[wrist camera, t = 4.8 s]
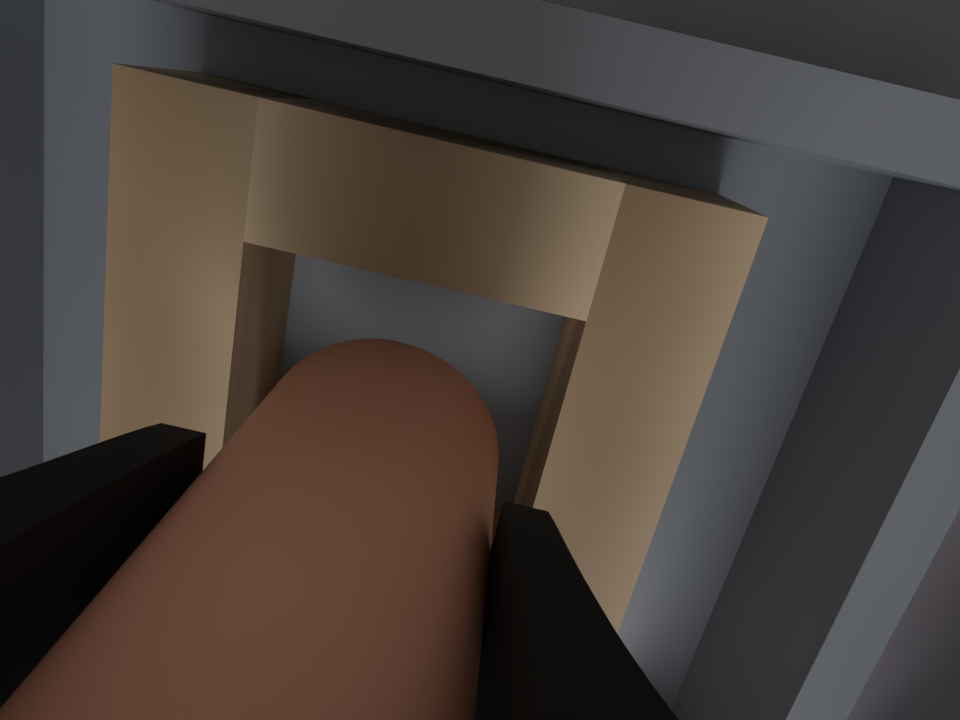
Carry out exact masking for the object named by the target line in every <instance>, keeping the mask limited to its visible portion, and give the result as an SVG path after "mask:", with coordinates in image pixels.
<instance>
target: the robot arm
mask: <svg viewBox="0 0 960 720" xmlns="http://www.w3.org/2000/svg"><path fill="white" fill-rule="evenodd" d="M205 442H206V433H203V432H199V431H195V430H190V429H186V428H181V427H177V426H173V425H168V424H164V423H159V424H156V425H152V426H148V427H144V428H141V429H138V430H135V431H132V432H129V433H126V434H123V435H120V436H117V437H114V438H111V439H108V440H105V441H103V442H100V443H97V444H94V445H91V446H88V447H86V448H83V449H80V450H77V451H74V452H72V453H69V454H66V455H63V456H60V457H57V458H54V459H52V460H49V461H46V462H43V463H40V464H37V465H34V466H32V467H29V468H26V469H23V470H20V471H17V472H14V473H11V474H8V475H6V476H2V477H0V708H1V706H2V705H3V704H4V703H5V702H6V700H7V699H8V698H9V697H10V696H11V695H12V693H13V692H14V691H15V690H16V689H17V688H18V686H19V685H20V684H21V683H22V682H23V681H24V679H25V678H26V677H27V676H28V675H29V674H30V672H31V671H32V670H33V669H34V668H35V667H36V665H37V664H38V663H39V662H40V661H41V660H42V658H43V657H44V656H45V655H46V654H47V653H48V651H49V650H50V649H51V648H52V647H53V646H54V644H55V643H56V642H57V641H58V640H59V638H60V637H61V636H62V635H63V634H64V633H65V631H66V630H67V629H68V628H69V627H70V626H71V624H72V623H73V622H74V621H75V620H76V619H77V617H78V616H79V615H80V614H81V613H82V612H83V610H84V609H85V608H86V607H87V606H88V605H89V603H90V602H91V601H92V600H93V599H94V598H95V596H96V595H97V594H98V593H99V592H100V591H101V589H102V588H103V587H104V586H105V585H106V584H107V582H108V581H109V580H110V579H111V578H112V577H113V575H114V574H115V573H116V572H117V571H118V569H119V568H120V567H121V566H122V565H123V564H124V562H125V561H126V560H127V559H128V558H129V557H130V555H131V554H132V553H133V552H134V551H135V550H136V548H137V547H138V546H139V545H140V544H141V543H142V541H143V540H144V539H145V538H146V537H147V536H148V534H149V533H150V532H151V531H152V530H153V529H154V527H155V526H156V525H157V524H158V523H159V522H160V520H161V519H162V518H163V517H164V516H165V515H166V513H167V512H168V511H169V510H170V509H171V507H172V506H173V505H174V504H175V503H176V502H177V500H178V499H179V498H180V497H181V496H182V495H183V493H184V492H185V491H186V490H187V489H188V488H189V486H190V485H191V484H192V483H193V482H194V481H195V479H196V478H197V477H198V476H199V475H200V474H201V472H202V471H203V463H204V452H205ZM474 720H679V719H678V717H677V716H676V715H675V714H674V713H673V711H672V710H671V709H670V708H669V706H668V705H667V704H666V702H665V701H664V700H663V698H662V697H661V696H660V694H659V693H658V692H657V690H656V689H655V688H654V686H653V685H652V684H651V682H650V681H649V679H648V678H647V677H646V675H645V674H644V672H643V671H642V669H641V668H640V666H639V665H638V664H637V662H636V661H635V659H634V658H633V656H632V655H631V654H630V652H629V651H628V649H627V648H626V646H625V645H624V643H623V642H622V640H621V639H620V637H619V635H618V634H617V632H616V631H615V629H614V628H613V626H612V624H611V623H610V621H609V619H608V618H607V616H606V614H605V613H604V611H603V609H602V608H601V606H600V604H599V603H598V601H597V599H596V598H595V596H594V594H593V593H592V591H591V589H590V587H589V586H588V584H587V582H586V580H585V579H584V577H583V575H582V573H581V571H580V569H579V568H578V566H577V564H576V562H575V560H574V558H573V556H572V555H571V553H570V551H569V549H568V547H567V545H566V543H565V541H564V539H563V537H562V535H561V533H560V531H559V529H558V528H557V526H556V524H555V522H554V520H553V518H552V517H551V515H550V513H549V512H548V511H545V510H540V509H536V508H532V507H527V506H523V505H518V504H514V503H510V502H505V501H504V502H503V506H502V510H501V513H500V517H499V521H498V524H497V528H496V532H495V536H494V539H493V543H492V547H491V550H490V557H489V567H488V578H487V588H486V599H485V611H484V623H483V634H482V644H481V655H480V666H479V676H478V687H477V697H476V708H475V719H474Z"/></svg>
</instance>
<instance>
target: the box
mask: <svg viewBox="0 0 960 720" xmlns="http://www.w3.org/2000/svg"><path fill="white" fill-rule="evenodd" d="M366 338H371V339H387V340H392V341H398V342H403V343H406V344H409V345H413V346H416V347H419V348H421V349H423V350H425V351H428V352H430V353H432V354H434V355H436V356H437V357H439V358H441V359H442V360H444V361H446V362H447V363H449V364H450V365H451V366H452V367H454V368H455V369H456V370H458V371H459V372H460V373H461V374H462V375H463V376H464V377H465V378H466V379H467V380H468V381H469V382H470V383H471V384H472V385H473V387H474V388H475V389H476V390H477V392H478V393H479V394H480V396H481V397H482V399H483V401H484V402H485V404H486V406H487V408H488V410H489V412H490V414H491V417H492V419H493V422H494V425H495V429H496V433H497V437H498V446H499V464H498V475H497V486H496V496H495V507H494V517H493V528H492V538H491V547H492V543H493V539H494V536H495V532H496V528H497V524H498V521H499V517H500V513H501V510H502V506H503V502H504V501H505V502H510V503H514V504H518V505H523V506H527V507H532V508H536V509H540V510H545V511H548V512H549V513H550V515H551V517H552V518H553V520H554V522H555V524H556V526H557V528H558V529H559V531H560V533H561V535H562V537H563V539H564V541H565V543H566V545H567V547H568V549H569V551H570V553H571V555H572V556H573V558H574V560H575V562H576V564H577V566H578V568H579V569H580V571H581V573H582V575H583V577H584V579H585V580H586V582H587V584H588V586H589V587H590V589H591V591H592V593H593V594H594V596H595V598H596V599H597V601H598V603H599V604H600V606H601V608H602V609H603V611H604V613H605V614H606V616H607V618H608V619H609V621H610V623H611V624H612V626H613V628H614V629H615V631H616V632H617V634H618V635H619V637H620V639H621V640H622V642H623V643H624V645H625V646H626V648H627V649H628V651H629V652H630V654H631V655H632V656H633V658H634V659H635V661H636V662H637V664H638V665H639V666H640V668H641V669H642V671H643V672H644V674H645V675H646V677H647V678H648V679H649V681H650V682H651V684H652V685H653V686H654V688H655V689H656V690H657V692H658V693H659V694H660V696H661V697H662V698H663V700H664V701H665V702H666V704H667V705H668V706H669V708H670V709H671V710H672V711H673V713H674V714H675V715H676V716H677V717H678V719H679V720H847V719H848V717H849V715H850V713H851V711H852V710H853V708H854V706H855V704H856V702H857V700H858V698H859V697H860V695H861V693H862V691H863V689H864V687H865V685H866V683H867V682H868V680H869V678H870V676H871V674H872V672H873V670H874V669H875V667H876V665H877V663H878V661H879V659H880V657H881V656H882V654H883V652H884V650H885V648H886V646H887V644H888V642H889V641H890V639H891V637H892V635H893V633H894V631H895V629H896V628H897V626H898V624H899V622H900V620H901V618H902V616H903V614H904V613H905V611H906V609H907V607H908V605H909V603H910V601H911V600H912V598H913V596H914V594H915V592H916V590H917V588H918V587H919V585H920V583H921V581H922V579H923V577H924V575H925V573H926V572H927V570H928V568H929V566H930V564H931V562H932V560H933V559H934V557H935V555H936V553H937V551H938V549H939V547H940V546H941V544H942V542H943V540H944V538H945V536H946V534H947V532H948V531H949V529H950V527H951V525H952V523H953V521H954V519H955V518H956V516H957V514H958V512H959V510H960V100H959V99H955V98H950V97H946V96H942V95H938V94H934V93H929V92H925V91H921V90H917V89H913V88H908V87H904V86H900V85H896V84H892V83H887V82H883V81H879V80H875V79H871V78H866V77H862V76H858V75H854V74H850V73H845V72H841V71H837V70H833V69H829V68H824V67H820V66H816V65H812V64H808V63H804V62H799V61H795V60H791V59H787V58H783V57H778V56H774V55H770V54H766V53H762V52H757V51H753V50H749V49H745V48H741V47H736V46H732V45H728V44H724V43H720V42H715V41H711V40H707V39H703V38H699V37H694V36H690V35H686V34H682V33H678V32H673V31H669V30H665V29H661V28H657V27H652V26H648V25H644V24H640V23H636V22H631V21H627V20H623V19H619V18H615V17H610V16H606V15H602V14H598V13H594V12H590V11H585V10H581V9H577V8H573V7H569V6H564V5H560V4H556V3H552V2H548V1H543V0H0V477H2V476H6V475H8V474H11V473H14V472H17V471H20V470H23V469H26V468H29V467H32V466H34V465H37V464H40V463H43V462H46V461H49V460H52V459H54V458H57V457H60V456H63V455H66V454H69V453H72V452H74V451H77V450H80V449H83V448H86V447H88V446H91V445H94V444H97V443H100V442H103V441H105V440H108V439H111V438H114V437H117V436H120V435H123V434H126V433H129V432H132V431H135V430H138V429H141V428H144V427H148V426H152V425H156V424H159V423H164V424H168V425H173V426H177V427H181V428H186V429H190V430H195V431H199V432H203V433H206V442H205V452H204V463H203V470H204V469H205V468H206V467H207V465H208V464H209V463H210V462H211V461H212V460H213V458H214V457H215V456H216V455H217V454H218V453H219V451H220V450H221V449H222V448H223V447H224V445H225V444H226V443H227V442H228V441H229V440H230V438H231V437H232V436H233V435H234V434H235V433H236V431H237V430H238V429H239V428H240V427H241V426H242V424H243V423H244V422H245V421H246V420H247V419H248V417H249V416H250V415H251V414H252V413H253V412H254V410H255V409H256V408H257V407H258V406H259V405H260V403H261V402H262V401H263V400H264V399H265V398H266V396H267V395H268V394H269V393H270V392H271V391H272V389H273V388H274V387H275V386H276V385H277V383H278V382H279V381H280V380H281V379H282V378H283V376H284V375H285V374H286V373H287V372H288V371H289V370H290V369H291V368H292V367H293V366H294V365H295V364H297V363H298V362H299V361H301V360H302V359H303V358H305V357H306V356H308V355H309V354H311V353H313V352H315V351H317V350H319V349H321V348H323V347H326V346H329V345H332V344H335V343H338V342H343V341H348V340H354V339H366ZM490 550H491V549H490Z"/></svg>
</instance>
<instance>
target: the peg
mask: <svg viewBox="0 0 960 720" xmlns="http://www.w3.org/2000/svg"><path fill="white" fill-rule="evenodd" d="M498 464H499V446H498V437H497V433H496V429H495V425H494V422H493V419H492V417H491V414H490V412H489V410H488V408H487V406H486V404H485V402H484V401H483V399H482V397H481V396H480V394H479V393H478V392H477V390H476V389H475V388H474V387H473V385H472V384H471V383H470V382H469V381H468V380H467V379H466V378H465V377H464V376H463V375H462V374H461V373H460V372H459V371H458V370H456V369H455V368H454V367H452V366H451V365H450V364H449V363H447V362H446V361H444V360H442V359H441V358H439V357H437V356H436V355H434V354H432V353H430V352H428V351H425V350H423V349H421V348H419V347H416V346H413V345H409V344H406V343H403V342H398V341H392V340H387V339H371V338H366V339H354V340H348V341H343V342H338V343H335V344H332V345H329V346H326V347H323V348H321V349H319V350H317V351H315V352H313V353H311V354H309V355H308V356H306V357H305V358H303V359H302V360H301V361H299V362H298V363H297V364H295V365H294V366H293V367H292V368H291V369H290V370H289V371H288V372H287V373H286V374H285V375H284V376H283V378H282V379H281V380H280V381H279V382H278V383H277V385H276V386H275V387H274V388H273V389H272V391H271V392H270V393H269V394H268V395H267V396H266V398H265V399H264V400H263V401H262V402H261V403H260V405H259V406H258V407H257V408H256V409H255V410H254V412H253V413H252V414H251V415H250V416H249V417H248V419H247V420H246V421H245V422H244V423H243V424H242V426H241V427H240V428H239V429H238V430H237V431H236V433H235V434H234V435H233V436H232V437H231V438H230V440H229V441H228V442H227V443H226V444H225V445H224V447H223V448H222V449H221V450H220V451H219V453H218V454H217V455H216V456H215V457H214V458H213V460H212V461H211V462H210V463H209V464H208V465H207V467H206V468H205V469H204V470H203V471H202V472H201V474H200V475H199V476H198V477H197V478H196V479H195V481H194V482H193V483H192V484H191V485H190V486H189V488H188V489H187V490H186V491H185V492H184V493H183V495H182V496H181V497H180V498H179V499H178V500H177V502H176V503H175V504H174V505H173V506H172V507H171V509H170V510H169V511H168V512H167V513H166V515H165V516H164V517H163V518H162V519H161V520H160V522H159V523H158V524H157V525H156V526H155V527H154V529H153V530H152V531H151V532H150V533H149V534H148V536H147V537H146V538H145V539H144V540H143V541H142V543H141V544H140V545H139V546H138V547H137V548H136V550H135V551H134V552H133V553H132V554H131V555H130V557H129V558H128V559H127V560H126V561H125V562H124V564H123V565H122V566H121V567H120V568H119V569H118V571H117V572H116V573H115V574H114V575H113V577H112V578H111V579H110V580H109V581H108V582H107V584H106V585H105V586H104V587H103V588H102V589H101V591H100V592H99V593H98V594H97V595H96V596H95V598H94V599H93V600H92V601H91V602H90V603H89V605H88V606H87V607H86V608H85V609H84V610H83V612H82V613H81V614H80V615H79V616H78V617H77V619H76V620H75V621H74V622H73V623H72V624H71V626H70V627H69V628H68V629H67V630H66V631H65V633H64V634H63V635H62V636H61V637H60V638H59V640H58V641H57V642H56V643H55V644H54V646H53V647H52V648H51V649H50V650H49V651H48V653H47V654H46V655H45V656H44V657H43V658H42V660H41V661H40V662H39V663H38V664H37V665H36V667H35V668H34V669H33V670H32V671H31V672H30V674H29V675H28V676H27V677H26V678H25V679H24V681H23V682H22V683H21V684H20V685H19V686H18V688H17V689H16V690H15V691H14V692H13V693H12V695H11V696H10V697H9V698H8V699H7V700H6V702H5V703H4V704H3V705H2V706H1V708H0V720H474V719H475V708H476V697H477V687H478V676H479V666H480V655H481V644H482V634H483V623H484V611H485V599H486V588H487V578H488V567H489V557H490V549H491V538H492V528H493V517H494V507H495V496H496V486H497V475H498Z"/></svg>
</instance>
